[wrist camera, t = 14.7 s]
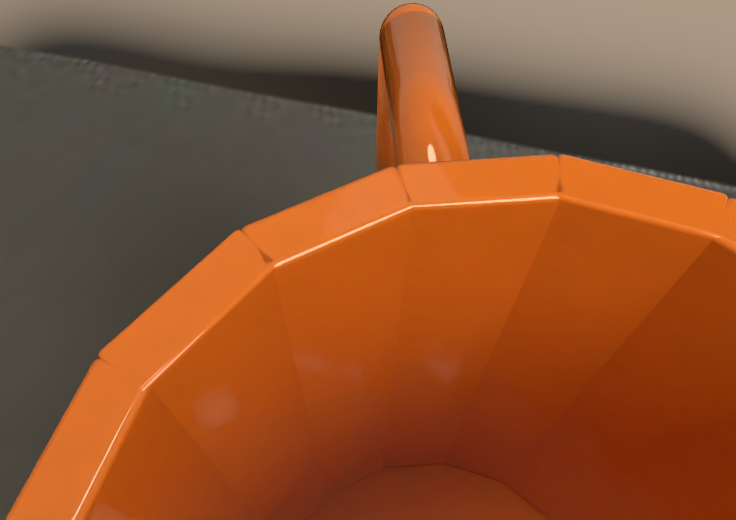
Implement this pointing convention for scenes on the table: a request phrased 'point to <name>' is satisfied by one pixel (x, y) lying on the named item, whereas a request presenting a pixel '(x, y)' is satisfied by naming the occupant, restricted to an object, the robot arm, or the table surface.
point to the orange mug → (426, 346)
